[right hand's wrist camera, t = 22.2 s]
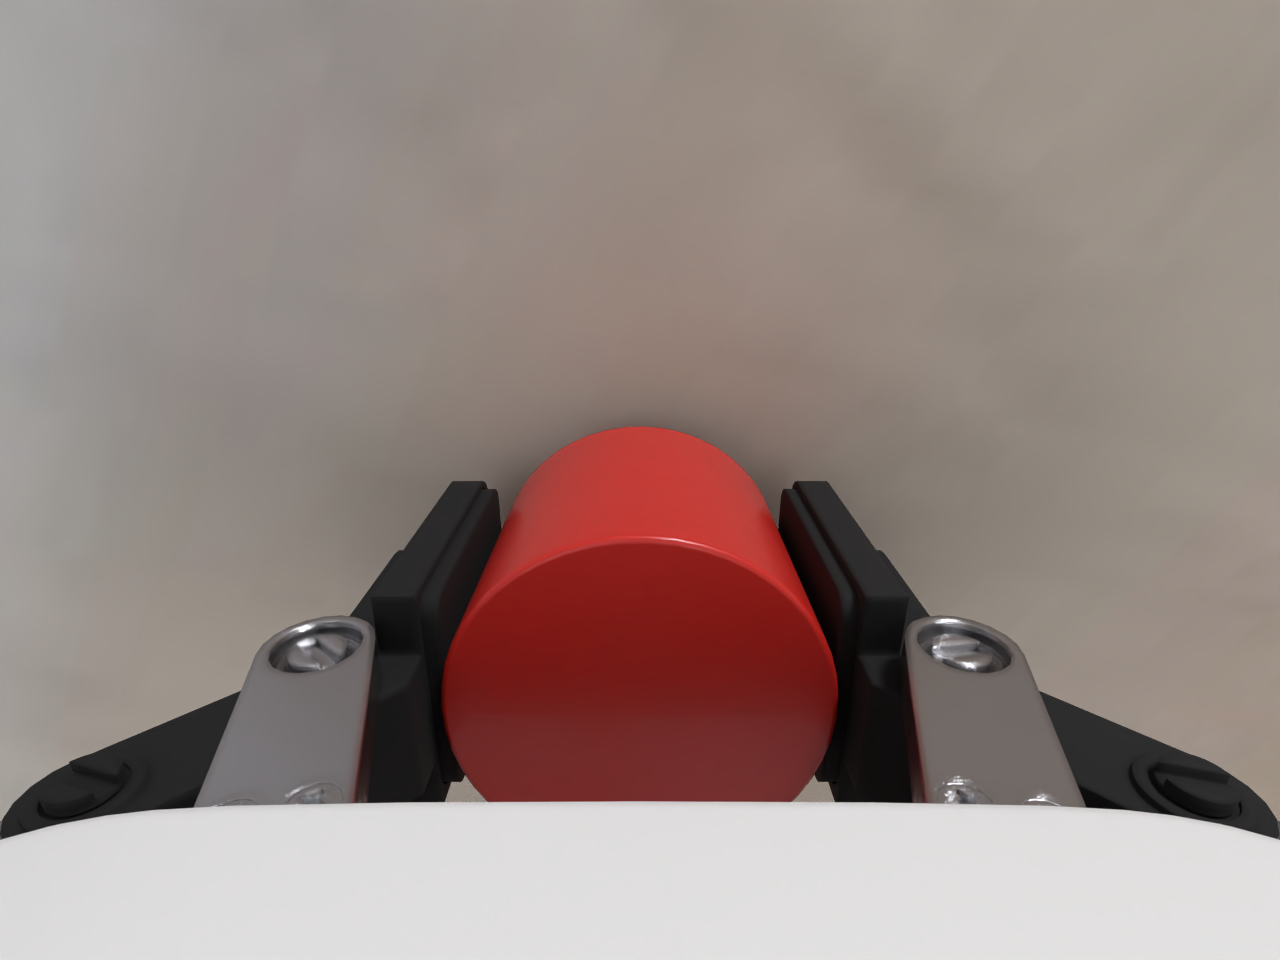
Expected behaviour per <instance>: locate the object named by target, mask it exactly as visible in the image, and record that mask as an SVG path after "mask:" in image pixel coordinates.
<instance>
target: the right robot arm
mask: <svg viewBox="0 0 1280 960" xmlns="http://www.w3.org/2000/svg"><path fill="white" fill-rule="evenodd" d="M778 531H779V534H780V536H781V538H782V540H783V543H784V545H785V547H786V549H787V552H788V554H789V556H790V559H791V561H792V563H793V565H794V568H795V570H796V572H797V575H798V577H799V579H800V581H801V584H802V586H803V588H804V590H805V593H806V595H807V597H808V600H809V602H810V604H811V606H812V609H813V611H814V613H815V615H816V618H817V620H818V622H819V625H820V627H821V629H822V631H823V634H824V636H825V639H826V641H827V643H828V646H829V648H830V651H831V653H832V656H833V661H834V665H835V669H836V673H837V682H838V697H839V698H838V708H837V718H836V723H835V727H834V731H833V735H832V738H831V742H830V744H829V747H828V749H827V751H826V754H825V756H824V758H823V761H822V763H821V764H820V766H819V767H818V769H817V771H816V772H815V777H816V779H817V781H818V782H829V785H830V788H831V791H832V794H833V797H834V800H835V802H669V801H611V802H445V799H446V796H447V793H448V790H449V787H450V784H451V782H461V781H462V780H463V778H464V776H465V774H464V772H463V771H462V769H461V767H460V765H459V763H458V762H457V760H456V758H455V756H454V754H453V752H452V749H451V746H450V743H449V740H448V737H447V734H446V731H445V727H444V721H443V715H442V709H441V682H442V675H443V669H444V663H445V660H446V657H447V654H448V651H449V648H450V645H451V642H452V640H453V638H454V635H455V633H456V631H457V629H458V626H459V624H460V622H461V620H462V617H463V615H464V613H465V611H466V609H467V606H468V604H469V602H470V600H471V597H472V595H473V593H474V591H475V588H476V586H477V584H478V582H479V579H480V577H481V575H482V573H483V570H484V568H485V566H486V564H487V561H488V559H489V557H490V555H491V552H492V550H493V548H494V546H495V543H496V541H497V539H498V537H499V534H500V532H501V521H500V509H499V498H498V493H497V490H496V489H487V485H486V483H485V482H484V481H453V482H452V483H451V484H450V485H449V487H448V488H447V489H446V491H445V492H444V494H443V495H442V497H441V498H440V499H439V501H438V502H437V504H436V505H435V506H434V508H433V509H432V511H431V512H430V513H429V515H428V516H427V518H426V519H425V521H424V522H423V523H422V525H421V526H420V528H419V529H418V530H417V532H416V533H415V535H414V536H413V537H412V539H411V540H410V542H409V543H408V545H407V546H406V547H405V549H404V550H400V551H398V552H397V553H396V554H395V555H394V556H393V557H392V559H391V560H390V561H389V563H388V564H387V566H386V567H385V568H384V570H383V571H382V572H381V574H380V575H379V577H378V578H377V579H376V581H375V582H374V583H373V585H372V586H371V588H370V589H369V590H368V592H367V593H366V594H365V596H364V597H363V599H362V600H361V601H360V603H359V604H358V605H357V607H356V608H355V610H354V611H353V612H352V614H351V615H350V617H349V616H327V617H321V618H316V619H311V620H307V621H304V622H301V623H299V624H296V625H293V626H290V627H288V628H286V629H285V630H283V631H281V632H279V633H277V634H275V635H274V636H273V637H271V638H270V639H269V640H268V641H267V642H265V643H264V644H263V645H262V646H261V648H260V649H259V651H258V652H257V654H256V655H255V658H254V660H253V663H252V665H251V668H250V670H249V673H248V675H247V677H246V680H245V682H244V685H243V687H242V690H241V691H239V692H237V693H235V694H232V695H230V696H227V697H225V698H223V699H220V700H218V701H216V702H213V703H211V704H208V705H206V706H204V707H201V708H199V709H197V710H194V711H192V712H189V713H187V714H185V715H182V716H180V717H178V718H175V719H173V720H170V721H168V722H166V723H163V724H161V725H159V726H156V727H154V728H151V729H149V730H147V731H144V732H142V733H140V734H137V735H135V736H132V737H130V738H128V739H125V740H123V741H121V742H118V743H116V744H114V745H111V746H109V747H106V748H104V749H102V750H99V751H97V752H95V753H92V754H89V755H86V756H83V757H80V758H77V759H75V760H72V761H70V762H69V763H70V764H68V765H66V766H64V767H62V768H60V769H58V770H56V771H54V772H52V773H51V774H49V775H48V776H46V777H45V778H43V779H42V780H40V781H39V782H37V783H36V784H34V785H33V786H31V787H30V788H29V789H28V790H27V791H26V792H25V793H24V794H23V795H22V796H21V797H19V798H18V799H17V800H16V801H15V802H14V803H13V805H12V806H11V808H10V809H9V811H8V812H7V814H6V815H5V817H4V818H3V820H2V821H0V960H1280V821H1277V819H1276V817H1275V816H1274V814H1273V813H1272V811H1271V810H1270V808H1269V807H1268V805H1267V804H1266V803H1265V802H1264V801H1263V800H1262V799H1261V798H1260V797H1259V796H1258V795H1257V794H1256V793H1255V792H1254V791H1253V790H1251V789H1250V788H1249V787H1248V786H1247V785H1245V784H1244V783H1242V782H1241V781H1239V780H1238V779H1236V778H1235V777H1233V776H1232V775H1230V774H1229V773H1228V772H1226V771H1224V770H1223V769H1222V768H1220V767H1218V766H1217V765H1215V764H1213V763H1211V762H1209V761H1207V760H1205V759H1202V758H1200V757H1197V756H1194V755H1190V754H1188V753H1185V752H1183V751H1180V750H1178V749H1176V748H1173V747H1171V746H1169V745H1166V744H1164V743H1161V742H1159V741H1157V740H1154V739H1152V738H1150V737H1147V736H1145V735H1142V734H1140V733H1138V732H1135V731H1133V730H1131V729H1128V728H1126V727H1123V726H1121V725H1119V724H1116V723H1114V722H1112V721H1109V720H1107V719H1104V718H1102V717H1100V716H1097V715H1095V714H1093V713H1090V712H1088V711H1085V710H1083V709H1081V708H1078V707H1076V706H1074V705H1071V704H1069V703H1066V702H1064V701H1062V700H1059V699H1057V698H1055V697H1052V696H1050V695H1047V694H1045V693H1043V692H1040V691H1039V690H1038V687H1037V685H1036V682H1035V680H1034V677H1033V675H1032V673H1031V670H1030V668H1029V665H1028V663H1027V660H1026V658H1025V655H1024V654H1023V652H1022V651H1021V649H1020V648H1019V646H1018V645H1017V644H1016V643H1015V642H1013V641H1012V640H1011V639H1010V638H1009V637H1007V636H1006V635H1005V634H1003V633H1001V632H999V631H997V630H995V629H994V628H992V627H990V626H987V625H984V624H981V623H979V622H976V621H973V620H969V619H964V618H959V617H953V616H931V617H930V616H929V614H928V613H927V612H926V610H925V609H924V607H923V606H922V605H921V603H920V602H919V601H918V599H917V598H916V596H915V595H914V594H913V592H912V591H911V590H910V588H909V587H908V585H907V584H906V583H905V581H904V580H903V579H902V577H901V576H900V574H899V573H898V572H897V570H896V569H895V568H894V566H893V565H892V563H891V562H890V561H889V559H888V558H887V557H886V555H885V554H884V553H883V552H882V551H881V550H876V549H875V548H874V547H873V545H872V544H871V542H870V541H869V540H868V538H867V537H866V535H865V534H864V532H863V531H862V530H861V528H860V527H859V525H858V524H857V523H856V521H855V520H854V518H853V517H852V516H851V514H850V513H849V511H848V510H847V508H846V507H845V506H844V504H843V503H842V501H841V500H840V499H839V497H838V496H837V494H836V493H835V492H834V490H833V489H832V487H831V486H830V484H829V483H828V482H827V481H796V482H794V484H793V487H792V489H784V490H783V491H782V495H781V504H780V516H779V528H778Z"/></svg>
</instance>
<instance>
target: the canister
mask: <svg viewBox="0 0 1280 960" xmlns="http://www.w3.org/2000/svg"><path fill="white" fill-rule="evenodd" d="M838 698H839V697H838V682H837V673H836V669H835V665H834V661H833V656H832V653H831V651H830V648H829V646H828V643H827V641H826V639H825V636H824V634H823V631H822V629H821V627H820V625H819V622H818V620H817V618H816V615H815V613H814V611H813V609H812V606H811V604H810V602H809V600H808V597H807V595H806V593H805V590H804V588H803V586H802V584H801V581H800V579H799V577H798V575H797V572H796V570H795V568H794V565H793V563H792V561H791V559H790V556H789V554H788V552H787V549H786V547H785V545H784V543H783V540H782V538H781V536H780V534H779V531H778V529H777V527H776V524H775V522H774V520H773V518H772V515H771V513H770V511H769V509H768V506H767V504H766V502H765V499H764V497H763V496H762V494H761V492H760V491H759V489H758V487H757V486H756V484H755V483H754V482H753V480H752V479H751V478H750V477H749V475H748V474H747V473H746V472H745V470H744V469H742V468H741V467H740V466H739V465H738V464H737V463H736V462H735V461H734V460H733V459H732V458H730V457H729V456H728V455H726V454H725V453H723V452H722V451H721V450H719V449H718V448H716V447H714V446H712V445H710V444H709V443H707V442H705V441H703V440H701V439H698V438H696V437H693V436H690V435H688V434H685V433H682V432H677V431H673V430H669V429H664V428H654V427H624V428H617V429H611V430H606V431H602V432H599V433H595V434H592V435H589V436H586V437H584V438H582V439H579V440H577V441H575V442H572V443H571V444H569V445H567V446H566V447H564V448H562V449H561V450H559V451H557V452H556V453H555V454H553V455H552V456H551V457H550V458H548V459H547V460H546V461H545V462H543V463H542V464H541V465H540V466H539V467H538V468H537V469H536V470H535V472H534V473H533V474H532V475H531V476H530V477H529V478H528V480H527V481H526V483H525V484H524V485H523V487H522V488H521V490H520V492H519V493H518V495H517V497H516V499H515V501H514V503H513V505H512V507H511V510H510V512H509V514H508V516H507V519H506V521H505V523H504V525H503V528H502V530H501V532H500V534H499V537H498V539H497V541H496V543H495V546H494V548H493V550H492V552H491V555H490V557H489V559H488V561H487V564H486V566H485V568H484V570H483V573H482V575H481V577H480V579H479V582H478V584H477V586H476V588H475V591H474V593H473V595H472V597H471V600H470V602H469V604H468V606H467V609H466V611H465V613H464V615H463V617H462V620H461V622H460V624H459V626H458V629H457V631H456V633H455V635H454V638H453V640H452V642H451V645H450V648H449V651H448V654H447V657H446V660H445V663H444V669H443V675H442V682H441V709H442V715H443V721H444V727H445V731H446V734H447V737H448V740H449V743H450V746H451V749H452V752H453V754H454V756H455V758H456V760H457V762H458V763H459V765H460V767H461V769H462V771H463V772H464V774H465V775H466V776H467V778H468V779H469V781H470V782H471V784H472V785H473V786H474V788H475V789H476V790H477V791H478V792H479V793H480V794H481V795H482V796H483V797H484V798H485V800H486V801H487V802H611V801H669V802H792V801H793V800H794V799H795V798H796V797H797V796H798V795H799V794H800V792H801V791H802V790H803V789H804V787H805V786H806V785H807V784H808V783H809V781H810V780H811V779H812V777H813V776H814V774H815V772H816V771H817V769H818V767H819V766H820V764H821V763H822V761H823V758H824V756H825V754H826V751H827V749H828V747H829V744H830V742H831V738H832V735H833V731H834V727H835V723H836V718H837V708H838Z"/></svg>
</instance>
